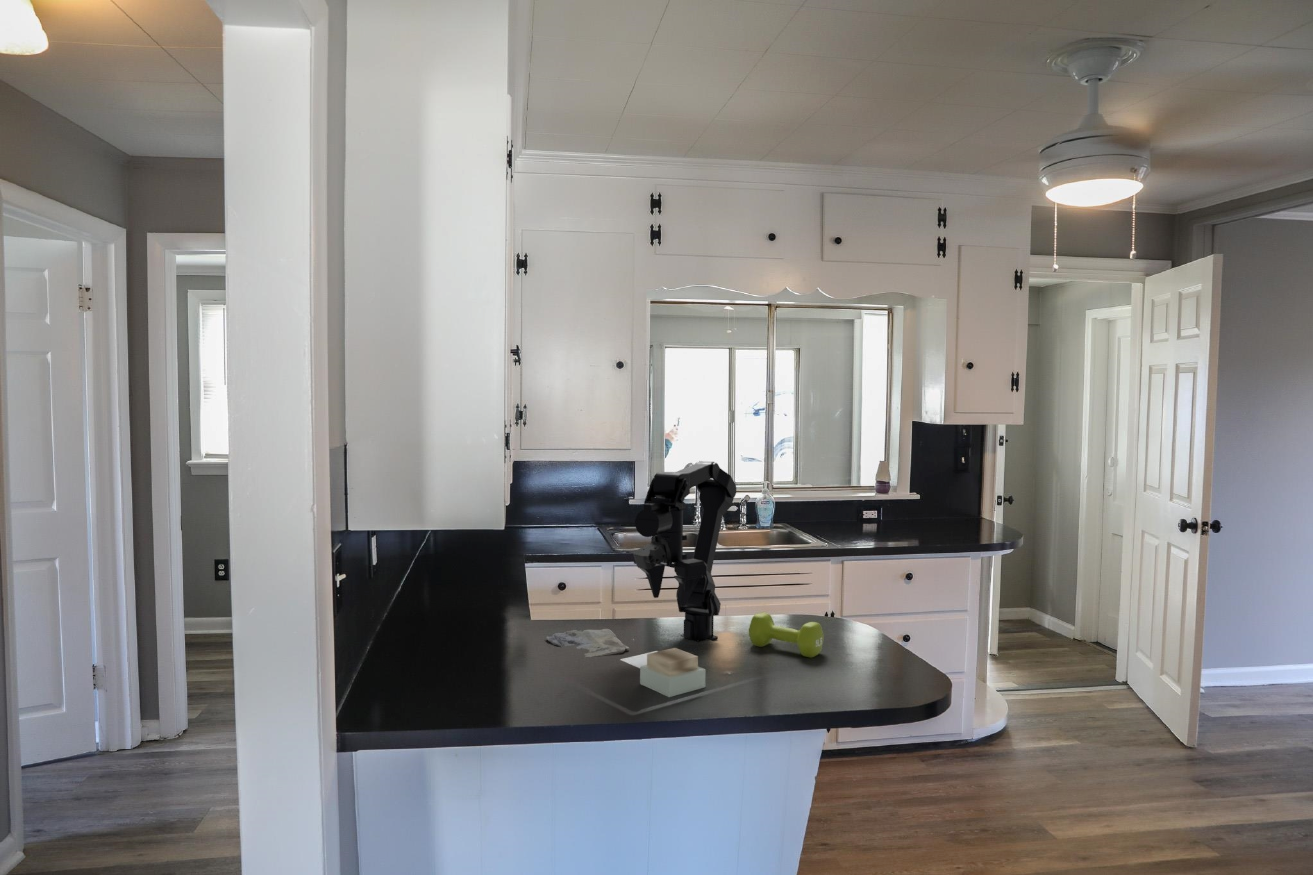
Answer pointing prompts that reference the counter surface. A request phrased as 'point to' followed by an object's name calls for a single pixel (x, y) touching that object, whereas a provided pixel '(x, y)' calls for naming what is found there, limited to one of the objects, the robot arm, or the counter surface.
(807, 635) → the dumbbell
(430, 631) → the counter surface
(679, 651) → the lid
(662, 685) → the dish
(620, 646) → the crumpled grey cloth
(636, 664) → the mat
